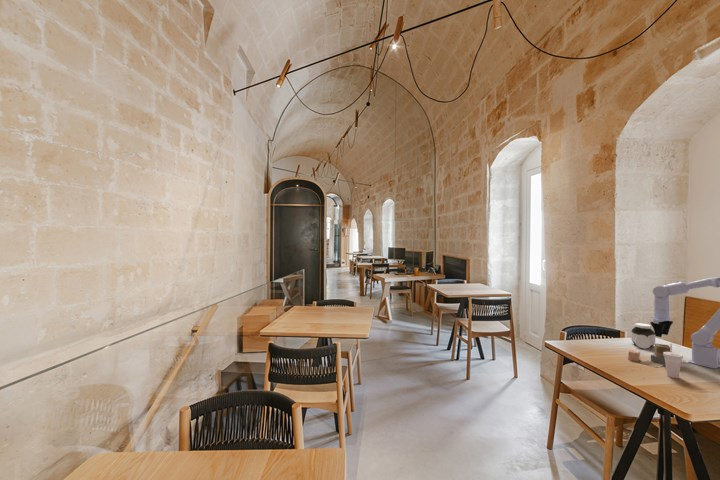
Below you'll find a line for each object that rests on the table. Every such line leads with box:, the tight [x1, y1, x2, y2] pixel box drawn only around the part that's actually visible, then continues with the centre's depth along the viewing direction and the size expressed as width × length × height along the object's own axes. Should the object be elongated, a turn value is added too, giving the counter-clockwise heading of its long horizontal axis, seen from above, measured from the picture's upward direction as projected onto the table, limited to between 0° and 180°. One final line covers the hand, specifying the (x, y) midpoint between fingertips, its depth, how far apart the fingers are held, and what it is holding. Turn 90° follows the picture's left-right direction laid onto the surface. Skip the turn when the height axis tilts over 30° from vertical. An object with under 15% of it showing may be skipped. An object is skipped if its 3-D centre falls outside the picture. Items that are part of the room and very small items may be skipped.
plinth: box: [650, 353, 666, 366], centre depth 164 cm, size 7×7×4 cm
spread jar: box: [630, 322, 656, 349], centre depth 189 cm, size 12×11×12 cm
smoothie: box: [663, 343, 684, 379], centre depth 148 cm, size 6×6×14 cm
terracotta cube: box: [627, 349, 641, 363], centre depth 168 cm, size 4×4×4 cm
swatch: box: [639, 359, 665, 368], centre depth 162 cm, size 7×7×1 cm
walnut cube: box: [654, 343, 670, 358], centre depth 164 cm, size 5×5×5 cm
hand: (661, 335), depth 175 cm, fingers open, 7 cm apart
